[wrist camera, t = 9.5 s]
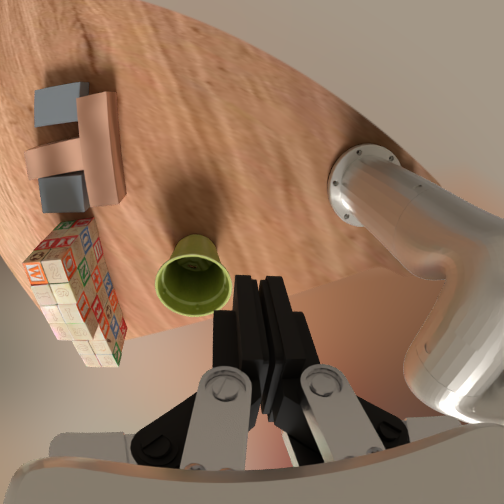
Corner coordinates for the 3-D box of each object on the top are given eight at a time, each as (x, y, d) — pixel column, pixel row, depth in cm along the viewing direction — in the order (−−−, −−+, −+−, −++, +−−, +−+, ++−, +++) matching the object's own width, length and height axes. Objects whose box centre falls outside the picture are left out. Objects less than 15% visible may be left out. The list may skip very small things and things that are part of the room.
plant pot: (219, 284, 46) (222, 322, 39) (159, 273, 44) (151, 310, 37) (235, 231, 42) (241, 263, 35) (169, 217, 40) (160, 247, 32)
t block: (116, 91, 31) (106, 91, 27) (126, 194, 38) (118, 204, 34) (34, 112, 29) (19, 115, 26) (49, 204, 36) (36, 215, 33)
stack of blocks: (128, 328, 49) (115, 383, 38) (98, 329, 48) (81, 381, 38) (94, 215, 38) (60, 259, 28) (59, 221, 38) (20, 263, 27)
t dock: (89, 82, 29) (80, 81, 27) (92, 204, 37) (84, 212, 35) (45, 89, 28) (34, 90, 26) (52, 205, 36) (42, 213, 34)
